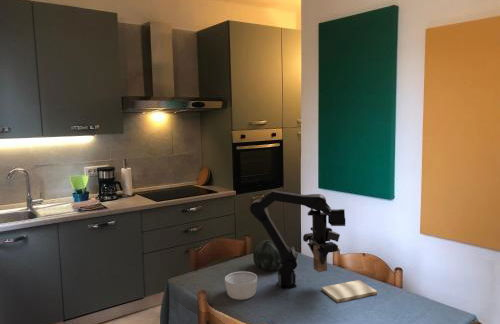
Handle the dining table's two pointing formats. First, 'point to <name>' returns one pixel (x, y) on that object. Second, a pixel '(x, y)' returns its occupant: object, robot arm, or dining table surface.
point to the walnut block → (318, 260)
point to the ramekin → (241, 285)
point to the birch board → (348, 291)
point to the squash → (266, 256)
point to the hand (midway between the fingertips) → (320, 262)
